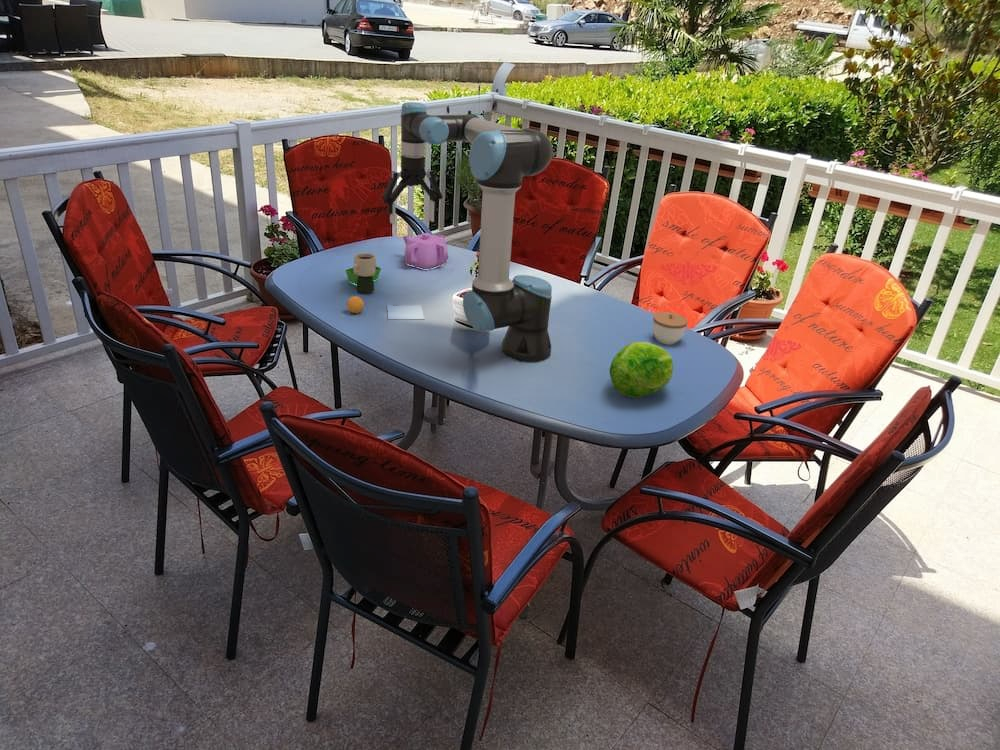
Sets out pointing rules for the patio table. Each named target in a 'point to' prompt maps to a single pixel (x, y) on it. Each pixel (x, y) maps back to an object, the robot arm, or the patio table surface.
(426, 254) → the pink squat rounded shape
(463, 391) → the patio table surface
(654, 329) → the lidded jar
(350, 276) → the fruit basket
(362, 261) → the character mug
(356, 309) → the ball
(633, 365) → the lettuce
